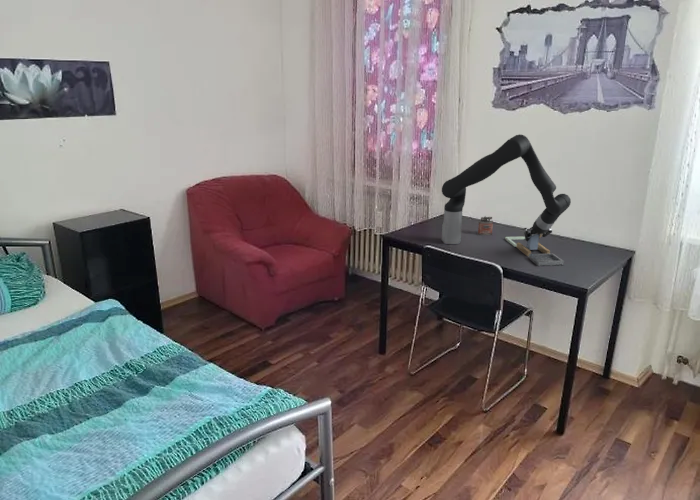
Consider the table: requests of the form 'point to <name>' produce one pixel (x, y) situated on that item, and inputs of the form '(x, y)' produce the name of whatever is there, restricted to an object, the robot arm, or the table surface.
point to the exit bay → (513, 239)
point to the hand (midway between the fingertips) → (531, 239)
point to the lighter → (485, 226)
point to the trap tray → (546, 259)
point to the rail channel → (527, 251)
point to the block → (533, 242)
